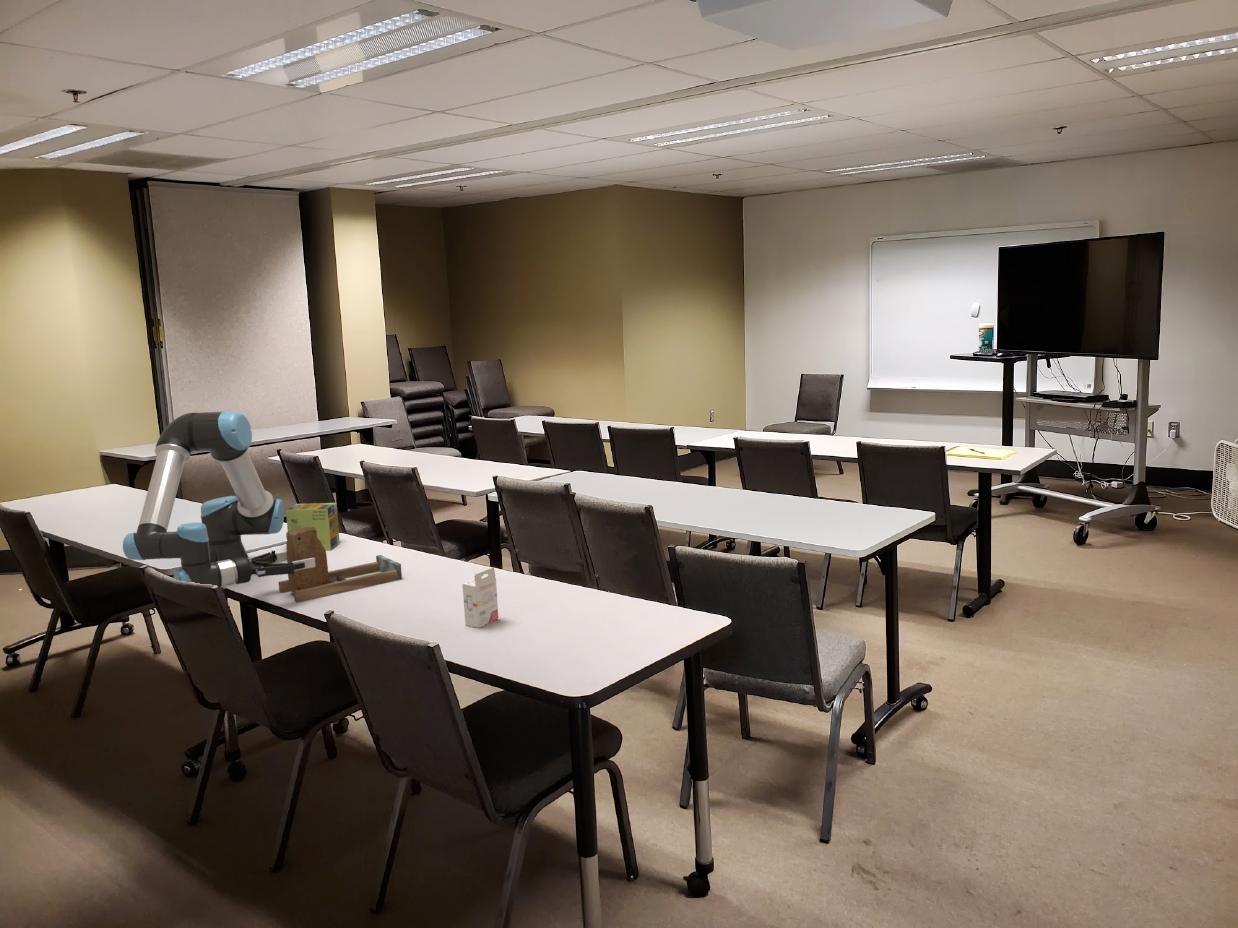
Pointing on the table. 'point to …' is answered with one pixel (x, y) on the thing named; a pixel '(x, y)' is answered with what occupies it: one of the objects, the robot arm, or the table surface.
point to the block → (304, 547)
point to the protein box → (316, 521)
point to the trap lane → (350, 579)
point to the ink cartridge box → (480, 599)
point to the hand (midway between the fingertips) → (306, 557)
